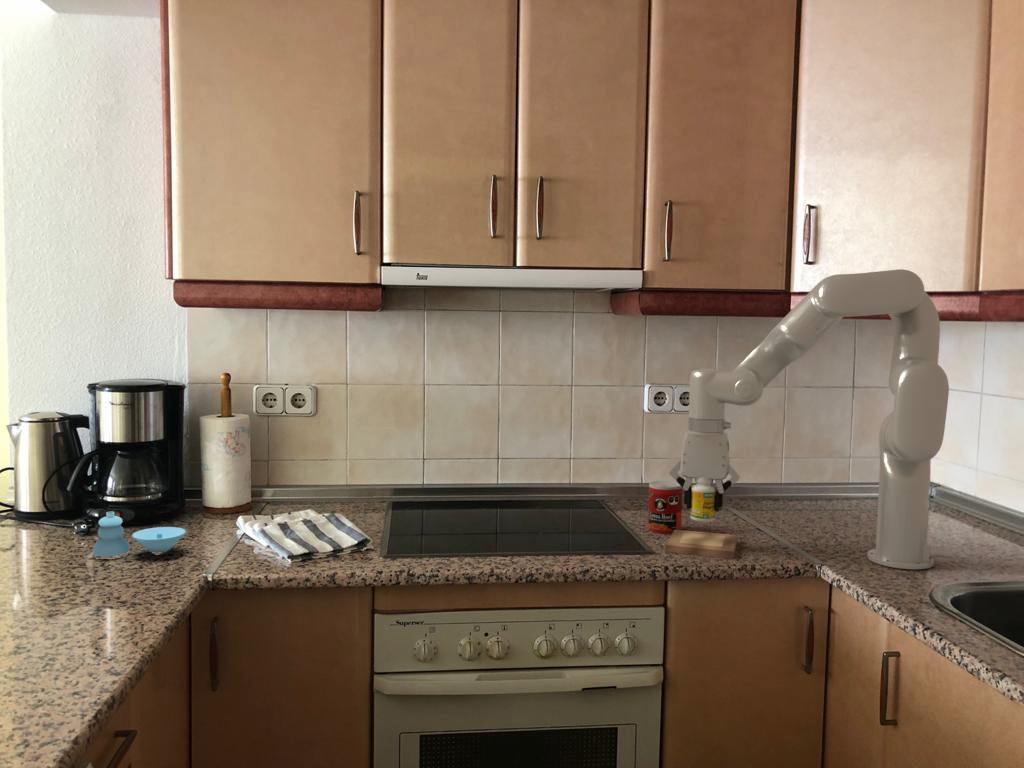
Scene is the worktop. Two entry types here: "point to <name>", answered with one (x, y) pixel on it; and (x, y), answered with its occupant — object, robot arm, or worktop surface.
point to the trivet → (702, 543)
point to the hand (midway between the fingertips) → (703, 508)
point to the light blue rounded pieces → (149, 538)
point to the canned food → (664, 506)
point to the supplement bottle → (703, 500)
